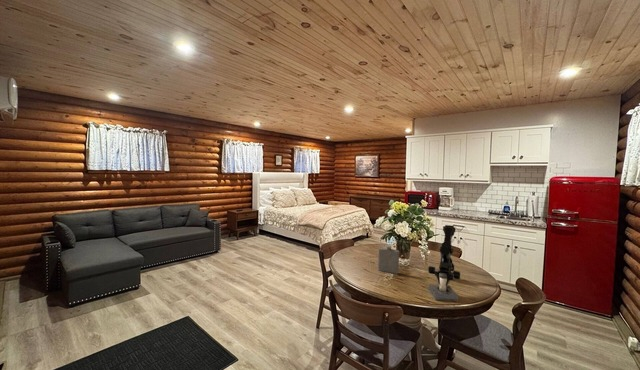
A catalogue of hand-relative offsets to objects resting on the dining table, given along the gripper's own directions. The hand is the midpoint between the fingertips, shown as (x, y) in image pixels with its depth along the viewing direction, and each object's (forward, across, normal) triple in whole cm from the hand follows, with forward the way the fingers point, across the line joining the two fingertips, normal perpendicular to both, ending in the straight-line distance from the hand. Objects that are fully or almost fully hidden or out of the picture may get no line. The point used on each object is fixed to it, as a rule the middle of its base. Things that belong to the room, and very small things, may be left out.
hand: (442, 284), depth 168 cm
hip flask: (-10, -41, +22) cm, 47 cm away
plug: (+4, 0, +6) cm, 7 cm away
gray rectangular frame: (+4, 0, +6) cm, 8 cm away
